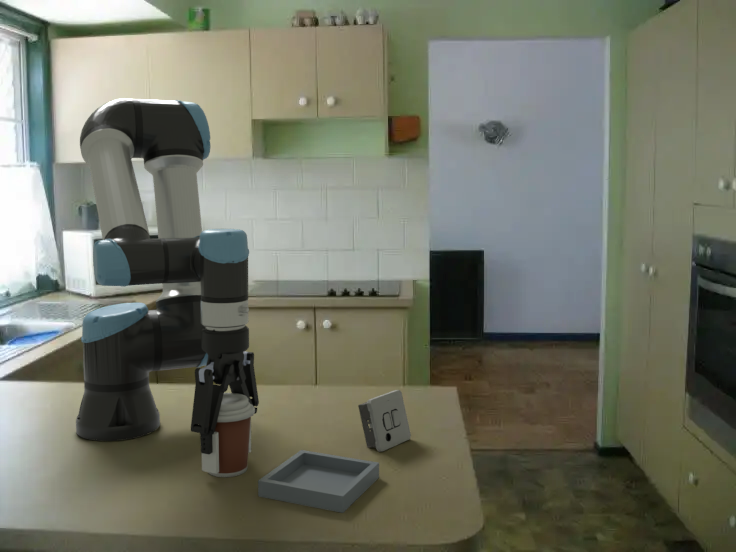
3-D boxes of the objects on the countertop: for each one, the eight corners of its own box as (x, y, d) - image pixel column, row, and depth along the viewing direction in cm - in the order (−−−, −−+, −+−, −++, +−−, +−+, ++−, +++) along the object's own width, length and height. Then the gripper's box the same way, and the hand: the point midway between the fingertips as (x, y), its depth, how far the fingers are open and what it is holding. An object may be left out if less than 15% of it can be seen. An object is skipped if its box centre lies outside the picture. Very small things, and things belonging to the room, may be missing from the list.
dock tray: (258, 496, 115) (258, 480, 114) (301, 464, 127) (301, 449, 127) (342, 512, 109) (343, 496, 109) (379, 477, 122) (379, 462, 122)
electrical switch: (380, 454, 133) (377, 401, 132) (358, 449, 136) (354, 398, 135) (412, 439, 140) (409, 390, 139) (389, 436, 143) (386, 387, 143)
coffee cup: (228, 455, 131) (226, 387, 130) (267, 467, 126) (266, 397, 124) (187, 471, 124) (185, 400, 122) (227, 485, 119) (225, 410, 117)
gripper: (205, 341, 110) (208, 489, 113) (279, 316, 130) (280, 442, 133) (163, 336, 113) (167, 481, 116) (241, 312, 133) (243, 436, 136)
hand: (227, 460), depth 125 cm, fingers closed on coffee cup, 9 cm apart
